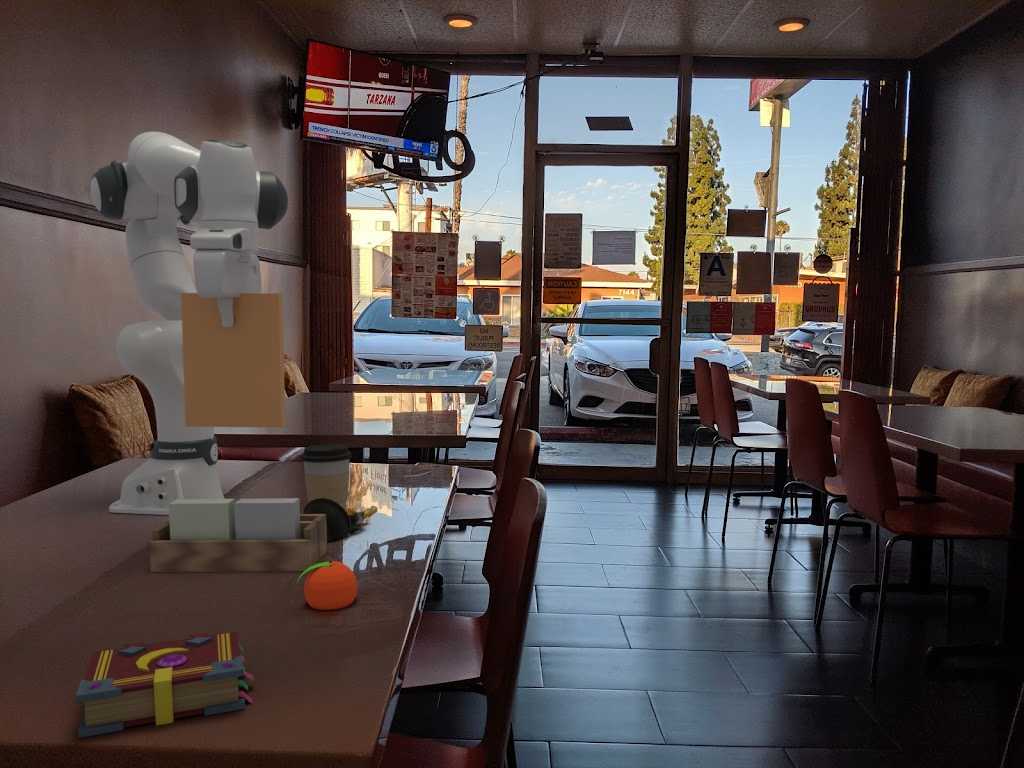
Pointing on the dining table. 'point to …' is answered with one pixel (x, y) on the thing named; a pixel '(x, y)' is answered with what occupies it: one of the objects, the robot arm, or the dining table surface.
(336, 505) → the fried shrimp in bowl
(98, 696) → the decorative book
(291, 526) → the offcut slate
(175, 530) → the offcut sage
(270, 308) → the tall sheet
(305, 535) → the rack
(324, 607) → the clementine
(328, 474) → the coffee cup
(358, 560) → the dining table surface
